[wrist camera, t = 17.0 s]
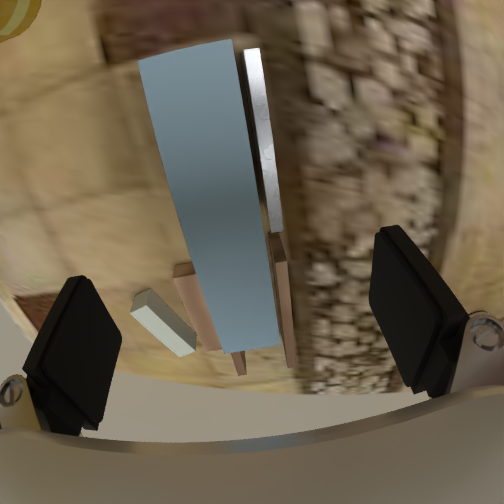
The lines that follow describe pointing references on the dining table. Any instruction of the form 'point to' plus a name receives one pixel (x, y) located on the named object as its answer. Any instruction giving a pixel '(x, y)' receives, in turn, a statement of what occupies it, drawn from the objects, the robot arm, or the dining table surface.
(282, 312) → the walnut rack
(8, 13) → the book
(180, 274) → the offcut lower
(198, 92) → the tall sheet
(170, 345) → the offcut upper
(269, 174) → the grey rack
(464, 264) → the dining table surface
